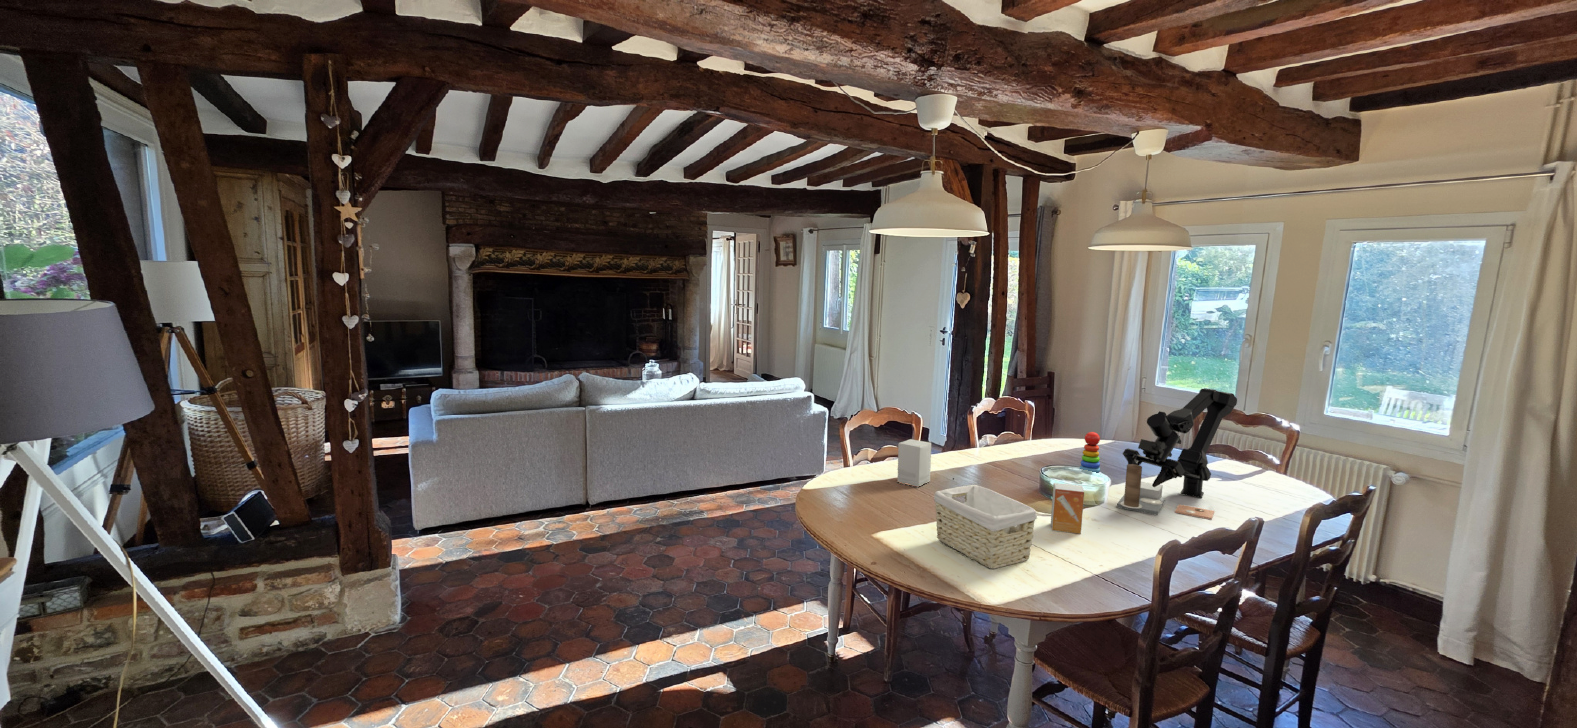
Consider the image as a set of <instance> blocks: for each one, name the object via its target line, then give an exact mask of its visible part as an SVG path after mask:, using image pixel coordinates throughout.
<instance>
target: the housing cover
mask: <svg viewBox="0 0 1577 728" xmlns="http://www.w3.org/2000/svg"><path fill="white" fill-rule="evenodd" d="M1152 484H1153V483H1152V482H1145V481H1141V487H1140V497H1145V498H1153V499H1157V500H1161V499H1162V496H1163V485H1162V484H1160V485H1158V486H1156V487H1153V486H1152Z"/></svg>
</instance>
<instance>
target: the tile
mask: <svg viewBox="0 0 1577 728" xmlns="http://www.w3.org/2000/svg"><path fill="white" fill-rule="evenodd" d="M1174 513H1176V514H1181V515H1185V516H1190V517H1191V516H1192V517H1197V518H1201V519H1206V520H1212V519H1213V517H1214V514H1215V510H1211V509H1206V508H1201V507H1195V506H1191V505H1185V504H1181V503H1180V504H1179V503H1178V505H1177V506H1176V509H1175V512H1174Z"/></svg>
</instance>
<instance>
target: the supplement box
mask: <svg viewBox="0 0 1577 728" xmlns="http://www.w3.org/2000/svg"><path fill="white" fill-rule="evenodd" d="M897 448H898V451H897V452H898V453H897V454H898V455H897V482H898V481H899V482H902V483H908V484H911V485H914V486H921V485H923V484H924V483H927V482H929V481H930V482H931V463H932V442H929V441H923V440H917V439H913V438H910V439H906V440H904V441H901V442H898V446H897ZM927 484H928V483H927ZM923 486H924V485H923ZM921 487H922V486H921Z"/></svg>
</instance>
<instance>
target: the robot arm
mask: <svg viewBox="0 0 1577 728" xmlns="http://www.w3.org/2000/svg"><path fill="white" fill-rule="evenodd" d="M1236 405H1238V398H1237V397H1236V395H1235V393H1232V392H1226V391H1219V390H1217V389H1214V388H1213V389H1212V388H1205V387H1204V388H1200V390H1199V392H1198V394H1196V395H1195V396H1194V397H1193V398H1192V399H1191V400H1190V401H1188V403H1187V404H1185V405H1184V406H1183V407H1182V408H1179V409H1176V410H1174V411H1172V412H1170V413H1168V414H1167V413H1166V412H1165V411H1160V410H1159V411H1158V413H1153V414H1152V415H1150V416H1148V417H1147V419H1146V424H1147V427H1149V428H1150V431H1151V432H1152V434H1153V435H1154V437H1156V438H1155V440H1154V441H1153V440H1147V439H1143V438H1142V439H1140V442H1139V444H1138V447H1137V449H1139V450H1142V453H1143V455H1144V456H1143V455H1141V454H1140V453H1139V451H1138V450H1136V449H1132V448H1129V447H1128V448H1125V449H1124V450H1123V452H1122V455H1123V457H1124V458H1125V459H1126V462H1127V465H1128V464H1135V465H1140V466H1141V465H1142V463H1144V464H1149V465H1152V466H1156V467H1159V468H1160V471H1159V473H1158V474H1157V476H1156V477H1155V478H1154V480H1153V484H1152V486H1153V487H1156V486H1158V485H1162V484H1163V483H1166V482H1167V481H1170V480H1172V479H1178V478H1183V485H1182V489H1181V491H1180V492H1179V494H1180V495H1183V496H1188V497H1194V498H1199V499H1201V498H1203V496H1204V493H1205V492H1204V491H1203V484H1204V481H1205V482H1208V481H1209V480H1210V479H1211V475H1212V472H1211V471H1210V469H1209V468H1208V464H1209V461H1208V457H1207V452H1208V450H1209V448H1210V445H1211V444H1212V441H1213V440H1214V438H1215V435H1216V433H1217V431H1218V429H1219V427H1220V425H1221V422H1222V420H1223V418H1224V417H1227V416H1228V415H1230V414H1231V413H1232V412H1233V410H1234V408H1235V407H1236ZM1205 410H1206V414H1205V416H1204V419H1203V420H1202V422H1201V424H1200V426H1199V429H1198V431H1197V433H1196V434H1195V438H1194V440H1192V443H1191V446H1190V447H1188V448H1182V450H1181V451H1180V455H1179V456H1177V460H1175V459H1171V457H1172V456H1173V454H1172V451H1173V449H1174V448H1175V447H1176V445H1177V444H1178V445H1181V444H1182V439H1181V435H1179V434H1178V433H1181V434H1184V435H1185V434H1188V433H1189V432H1190V431H1191V430H1192V428H1193V427H1194V425H1195V423H1194V422H1195V421H1194V420H1196V418H1197V417H1198V416H1199V415H1200V414H1202V413H1203V412H1204V411H1205Z"/></svg>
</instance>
